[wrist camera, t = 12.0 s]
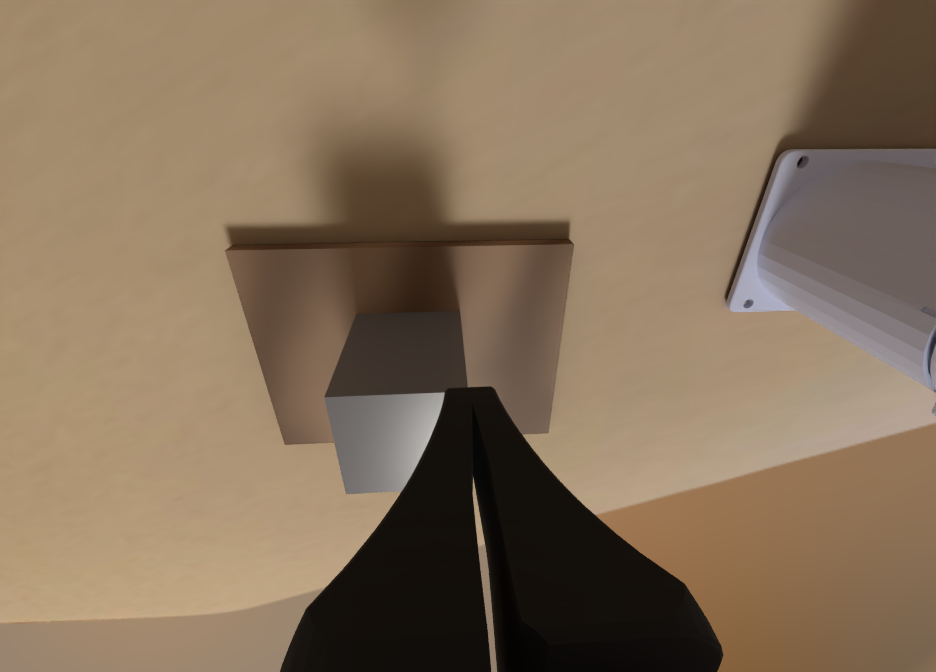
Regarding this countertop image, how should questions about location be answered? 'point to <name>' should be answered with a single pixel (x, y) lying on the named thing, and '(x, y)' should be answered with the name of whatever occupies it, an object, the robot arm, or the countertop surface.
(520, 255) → the flat brown plate
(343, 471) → the gray rectangular prism
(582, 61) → the countertop surface
